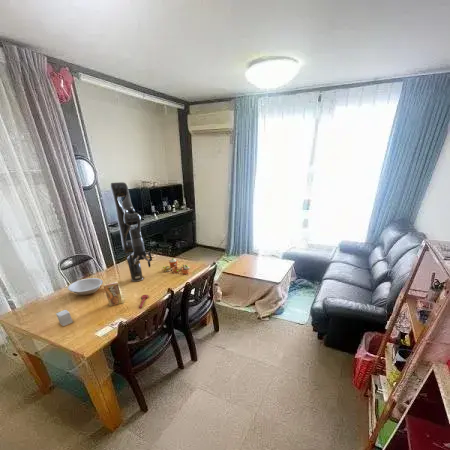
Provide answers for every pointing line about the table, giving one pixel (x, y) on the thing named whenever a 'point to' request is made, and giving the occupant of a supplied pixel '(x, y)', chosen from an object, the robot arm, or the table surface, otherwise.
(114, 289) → the candy box
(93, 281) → the soup bowl
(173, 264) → the toy tea set
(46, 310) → the table surface
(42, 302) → the table surface
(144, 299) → the spoon
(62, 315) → the grey cube
